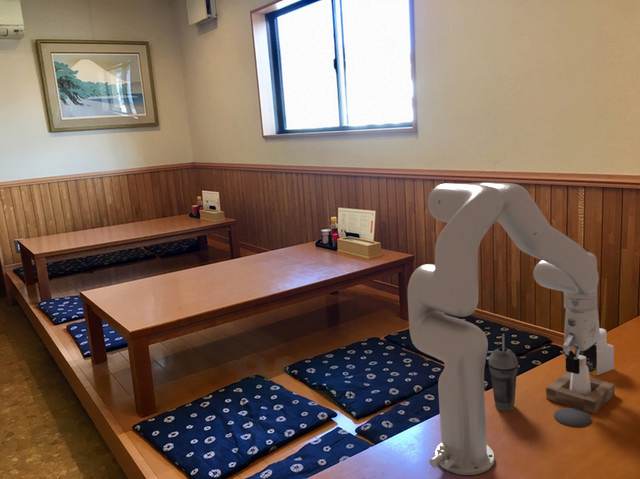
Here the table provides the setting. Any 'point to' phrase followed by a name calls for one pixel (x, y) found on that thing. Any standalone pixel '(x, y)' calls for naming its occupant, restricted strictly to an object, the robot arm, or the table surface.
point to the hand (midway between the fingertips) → (581, 365)
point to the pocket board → (590, 402)
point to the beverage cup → (503, 377)
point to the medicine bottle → (601, 356)
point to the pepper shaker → (581, 378)
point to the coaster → (572, 417)
